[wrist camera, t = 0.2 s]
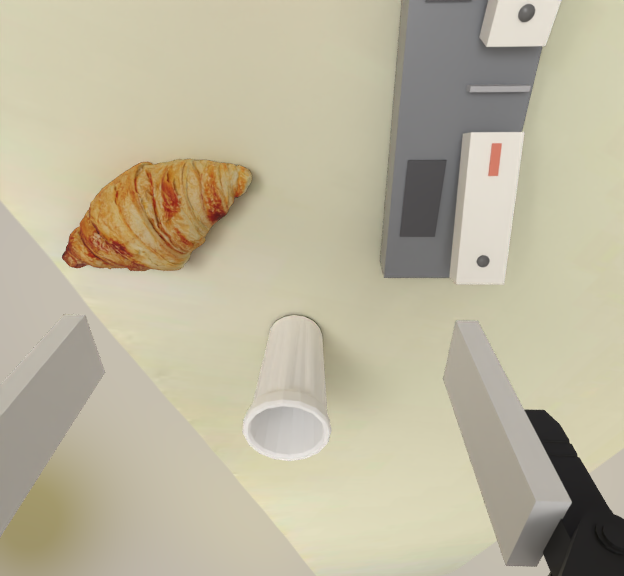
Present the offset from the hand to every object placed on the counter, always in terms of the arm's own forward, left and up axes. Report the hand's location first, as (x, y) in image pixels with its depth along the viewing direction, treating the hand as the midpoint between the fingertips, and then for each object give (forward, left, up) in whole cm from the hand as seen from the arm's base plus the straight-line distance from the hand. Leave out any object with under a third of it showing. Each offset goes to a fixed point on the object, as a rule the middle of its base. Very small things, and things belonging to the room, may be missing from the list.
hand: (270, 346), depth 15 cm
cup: (+21, -1, -28) cm, 35 cm away
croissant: (+6, -14, -28) cm, 32 cm away
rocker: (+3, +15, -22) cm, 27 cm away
